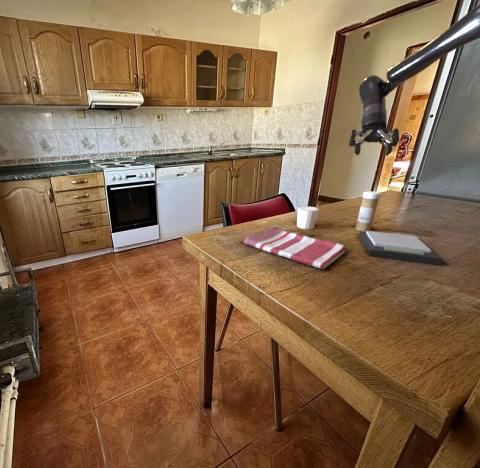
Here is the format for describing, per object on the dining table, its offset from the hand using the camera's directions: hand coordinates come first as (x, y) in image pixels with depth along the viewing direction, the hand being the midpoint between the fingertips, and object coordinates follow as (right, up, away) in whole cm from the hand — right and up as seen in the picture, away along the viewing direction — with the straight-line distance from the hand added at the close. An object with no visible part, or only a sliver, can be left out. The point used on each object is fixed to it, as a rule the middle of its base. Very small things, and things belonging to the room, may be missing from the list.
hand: (372, 153), depth 91 cm
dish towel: (-35, -33, -13) cm, 50 cm away
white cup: (-22, -26, +4) cm, 34 cm away
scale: (-6, -33, -16) cm, 37 cm away
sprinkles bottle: (-4, -27, 0) cm, 28 cm away
